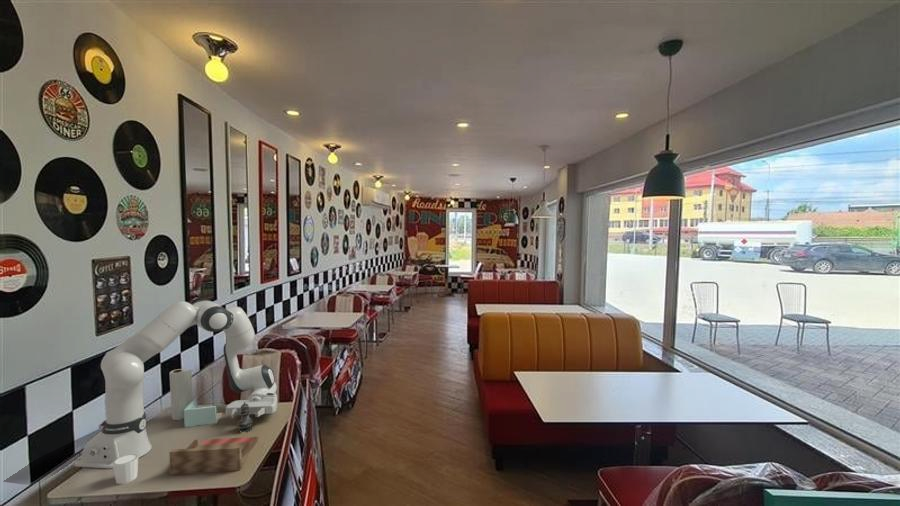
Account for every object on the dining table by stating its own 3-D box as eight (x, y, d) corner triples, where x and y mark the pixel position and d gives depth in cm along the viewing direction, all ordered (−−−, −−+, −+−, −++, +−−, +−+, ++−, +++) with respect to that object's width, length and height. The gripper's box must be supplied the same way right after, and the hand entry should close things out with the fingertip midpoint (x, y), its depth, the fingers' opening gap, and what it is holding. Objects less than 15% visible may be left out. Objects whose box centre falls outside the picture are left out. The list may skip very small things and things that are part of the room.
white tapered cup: (108, 484, 134) (106, 464, 133) (127, 471, 141) (126, 452, 140) (126, 486, 133) (124, 465, 132) (144, 473, 140) (143, 454, 139)
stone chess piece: (247, 433, 166) (245, 405, 165) (234, 432, 167) (233, 404, 166) (256, 426, 172) (255, 399, 171) (244, 425, 173) (243, 398, 172)
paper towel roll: (168, 420, 178) (165, 372, 176) (180, 413, 184) (177, 367, 182) (182, 421, 176) (179, 373, 175) (193, 415, 182) (191, 368, 181)
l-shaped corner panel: (216, 423, 174) (215, 406, 174) (184, 427, 171) (183, 410, 171) (224, 411, 186) (223, 395, 185) (194, 414, 183) (193, 398, 182)
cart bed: (170, 474, 139) (169, 452, 139) (202, 441, 160) (201, 422, 159) (240, 470, 141) (239, 448, 141) (262, 438, 162) (261, 419, 162)
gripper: (233, 395, 181) (218, 409, 168) (280, 393, 183) (269, 407, 170) (233, 409, 182) (219, 424, 168) (280, 407, 184) (270, 421, 170)
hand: (244, 415), depth 169 cm, fingers open, 8 cm apart
